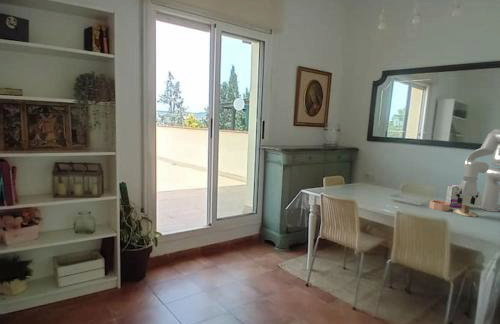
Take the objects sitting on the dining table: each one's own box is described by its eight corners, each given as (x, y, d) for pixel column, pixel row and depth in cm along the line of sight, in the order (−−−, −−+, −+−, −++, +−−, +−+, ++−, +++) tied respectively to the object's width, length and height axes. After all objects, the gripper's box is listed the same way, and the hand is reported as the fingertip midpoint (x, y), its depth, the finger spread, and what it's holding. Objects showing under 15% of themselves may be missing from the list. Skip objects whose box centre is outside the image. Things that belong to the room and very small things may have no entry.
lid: (466, 210, 231) (468, 202, 230) (481, 217, 217) (483, 208, 216) (448, 210, 230) (449, 202, 229) (462, 216, 216) (463, 208, 215)
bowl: (441, 206, 240) (442, 200, 239) (452, 211, 228) (453, 204, 228) (426, 206, 239) (427, 199, 239) (436, 211, 228) (437, 204, 227)
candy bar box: (456, 205, 246) (459, 184, 244) (461, 207, 242) (465, 186, 239) (444, 205, 243) (447, 184, 241) (450, 207, 239) (453, 186, 236)
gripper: (477, 179, 224) (473, 203, 227) (454, 177, 223) (450, 201, 225) (486, 181, 217) (481, 205, 219) (461, 179, 216) (457, 204, 218)
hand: (465, 203), depth 222 cm, fingers open, 9 cm apart
